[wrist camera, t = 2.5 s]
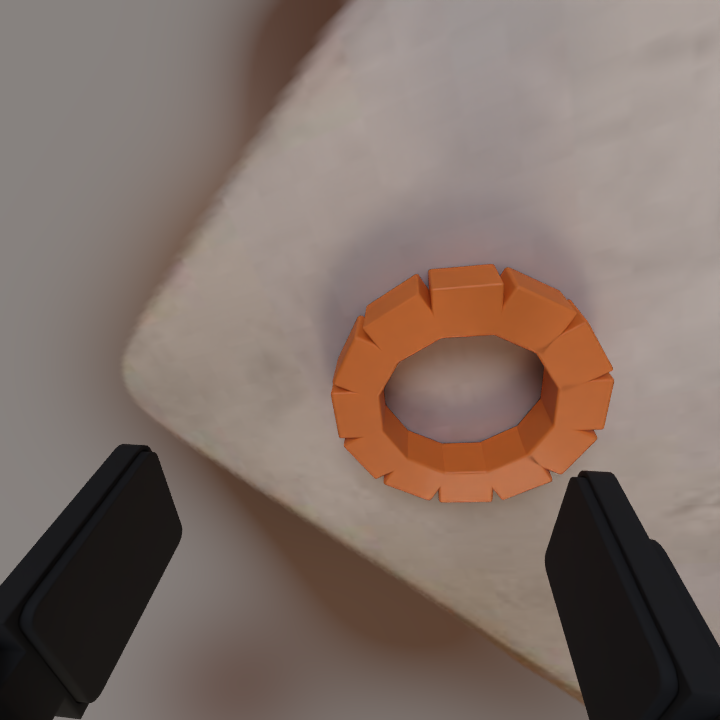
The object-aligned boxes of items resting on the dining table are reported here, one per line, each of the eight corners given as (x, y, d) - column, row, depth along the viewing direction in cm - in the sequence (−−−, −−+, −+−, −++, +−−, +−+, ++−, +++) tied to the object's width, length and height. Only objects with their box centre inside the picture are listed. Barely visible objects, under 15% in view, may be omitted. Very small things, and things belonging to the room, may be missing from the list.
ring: (289, 355, 13) (278, 380, 12) (518, 206, 11) (533, 220, 9) (423, 498, 16) (424, 530, 15) (631, 412, 13) (653, 443, 12)
